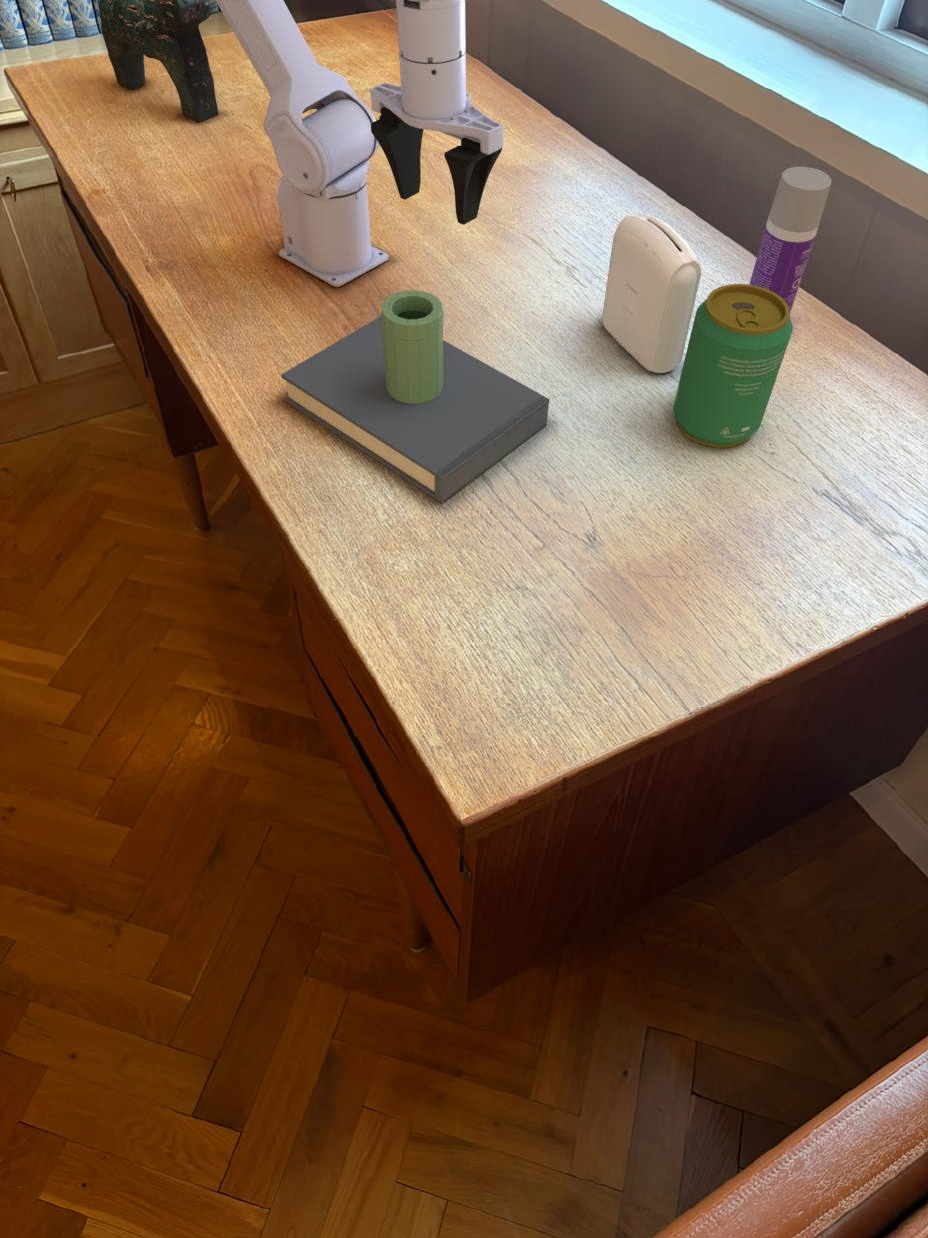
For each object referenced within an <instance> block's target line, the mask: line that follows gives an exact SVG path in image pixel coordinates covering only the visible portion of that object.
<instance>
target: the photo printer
mask: <svg viewBox="0 0 928 1238" xmlns="http://www.w3.org/2000/svg"><path fill="white" fill-rule="evenodd" d="M701 276H702V268H701V263H700V261H699V259H698V258H697V256H696V254H695V253H694V250H692V248H691V246H690V245H689V244H688V243H687V241H686V240H685V239H684V238H683V237H682V236H681V234H679V233H678V232H677V231H676V230H675V229H674V228H673V227H672V226H670V225H669V224H667V223H666V222H665V221H663V220H661V219H659V217H658V218H657V217H655V216H653V215H650V214H647V213H644V212H643V213H641V212H636V213H634V214H628V215H626V216H625V217H624V218H622V219H621V221H620V222H619V224H618V225H617V227H616V229H615V231H614V233H613V238H612V245H611V253H610V258H609V265H608V273H607V280H606V286H605V294H604V300H603V309H602V318H601V320H602V321H601V322H602V325H603V326H604V328H605V330H606V331H607V332H608V333H609V334H610V335H611V336H612V338H614V339H615V341H616V342H617V343H618V344H619V345H620V346H621V347H622V348H623V349H624V350H625V351H626V352H627V353H628V354H630V355H631V357H633V358H634V359H635V360H636V361H637V362H638V363H639V364H640V365H641V366H642V367H644V368H645V369H646V370H647V371H649V372H653V373H655V374H664V373H668V372H671V371H674V370H675V369H676V368H677V366H678V364H680V363H681V362H682V360H683V357H684V352H685V347H686V343H687V339H688V334H689V330H690V325H691V321H692V316H693V311H694V308H695V303H696V298H697V295H698V290H699V285H700V281H701Z"/></svg>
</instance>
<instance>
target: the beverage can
mask: <svg viewBox="0 0 928 1238" xmlns="http://www.w3.org/2000/svg"><path fill="white" fill-rule="evenodd" d="M695 311H696V312H695V315H694V319H693V323H692V328H691V330H690V336H689V340H688V343H687V344H688V345H687V348H686V351H685V356H684V360H683V364H682V370H681V372H680V373H681V374H680V376H679V380H678V385H677V389H676V393H675V398H674V402H673V407H672V409H673V410H672V411H673V415H674V417H675V420H676V424H677V427H678V428H679V430H680V431H681V432H682V433H683V434H684V435H685V436H686V437H687V438H688V439H690V440H692V441H694V442H696V443H698V444H700V445H703V446H707V447H711V448H720V449H721V448H732V447H736V446H740V445H742V444H744V443H745V442H747V441H748V440H749V439H750V438H751V436H753V435H754V434H756V433H757V432H758V431H759V429H760V427H761V425H762V422H763V419H764V416H765V413H766V410H767V408H768V405H769V401H770V398H771V395H772V393H773V390H774V387H775V383H776V381H777V377H778V375H779V372H780V369H781V366H782V363H783V360H784V357H785V354H786V352H787V348H788V346H789V342H790V339H791V337H792V333H793V330H794V329H793V327H794V325H793V322H792V318H791V312H790V309H789V306H788V304H787V303H786V302H785V301H784V299H782V298H781V297H780V296H779V295H777V294H776V293H774V292H772V291H770V290H768V289H765V288H762V287H759V286H754V285H749V283H748V284H747V283H732V284H725V285H721V286H719V287H717V288H714V290H712V291H710V292H709V294H708V295H707V298H706V299H705V300H704V301H703V302H702V303H700V305H699V306H698V307H697V309H696V310H695Z"/></svg>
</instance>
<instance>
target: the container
mask: <svg viewBox="0 0 928 1238" xmlns="http://www.w3.org/2000/svg"><path fill="white" fill-rule="evenodd" d="M831 186H832V178H831V177H830V176H829V174H827V173H826V172H824V171H823V170H820V169H818V168H813V167H809V166H793V167H788V168H786V169H784V170H783V171H782V173H781V176H780V179H779V183H778V185H777V189H776V192H775V195H774V198H773V202H772V205H771V207H770V211H769V214H768V217H767V221H766V223H765V228H764V231H763V235H762V238H761V242H760V246H759V249H758V252H757V256H756V259H755V262H754V267H753V269H752V274H751V276H750V280H749V283H748V285H754V286H759V287H762V288H765V289H768V290H770V291H772V292H774V293H776V294H777V295H779V296H780V297H781V298H782V299H784V301H785V302H786V303H787V304H788V306H789V309H790V313H791V312H792V309H793V305H794V302H795V300H796V297H797V293H798V291H799V288H800V285H801V282H802V278H803V277H804V276H803V275H804V272H805V270H806V267H807V264H808V260H809V259H810V258H809V257H810V254H811V251H812V249H813V246H814V241H815V239H816V237H817V233H818V229H819V226H820V223H821V220H822V217H823V213H824V209H825V207H826V202H827V199H828V196H829V193H830V190H831Z"/></svg>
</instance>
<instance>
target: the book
mask: <svg viewBox="0 0 928 1238" xmlns="http://www.w3.org/2000/svg"><path fill="white" fill-rule="evenodd" d="M280 376H281V377H280V378H281V379H282V380H284V381H286V382H285V383H286V389H287V390H286V391H287V396H285V397H284V401H285V402H286V403H287V404H289V405H290V406H292V407H293V408H295V409H297V410H298V411H300V412H301V413H303V414H304V415H306V416H307V417H309V418H310V419H312V420H314V421H315V422H317V423H318V424H320V425H321V426H322V427H324V428H326V429H327V430H328V431H330V432H332V433H333V434H335V435H337V436H338V437H340V438H341V439H343V440H344V441H345V442H347V443H349V444H350V445H352V446H353V447H355V448H356V449H358V450H360V451H361V452H362V453H364V454H366V455H367V456H369V457H370V458H372V459H373V460H374V461H375V462H377V463H379V464H380V465H382V466H383V467H385V468H387V469H388V470H390V471H392V472H393V473H395V474H396V475H398V476H399V477H400V478H402V479H404V480H405V481H407V482H408V483H410V484H411V485H413V486H414V487H416V488H417V489H419V490H420V491H422V492H424V493H425V494H426V495H429V496H430V497H431V498H433V499H435V500H436V501H437V502H439V503H440V504H442V505H444V504H445V503H447V502H448V501H449V500H451V499H452V498H454V496H455V495H457V494H459V493H460V492H461V491H463V490H464V489H465V488H466V487H468V486H469V485H470V484H472V483H473V482H474V481H476V480H477V479H478V478H480V477H481V476H482V475H483V474H485V473H486V472H487V471H489V470H490V469H491V468H493V467H494V466H496V464H498V463H500V461H502V460H503V459H505V458H506V457H507V456H509V455H510V454H512V452H514V451H515V450H516V449H518V448H519V447H521V446H522V445H523V444H524V443H526V442H527V441H528V440H530V439H531V438H533V436H535V435H536V434H538V433H539V432H540V431H542V430H543V429H544V428H546V427H547V426H548V415H549V414H548V413H549V406H550V400H551V399H550V398H548V397H546V396H545V395H543V394H541V393H539V392H537V391H536V390H534V389H533V388H530V387H528V386H527V385H525V384H523V383H521V382H519V381H518V380H516V379H514V378H513V377H511V376H509V375H507V374H505V373H503V372H501V371H500V370H498V369H496V368H495V367H493V366H492V365H491V366H490V365H489V364H487V363H485V362H483V361H482V360H480V359H478V358H476V357H475V356H472V354H469V353H468V352H466V351H464V350H462V349H460V348H459V347H456V346H455V345H453V344H451V343H449V341H448V342H447V341H446V340H444V339H443V388H442V391H441V393H440V394H439V395H438V396H437V397H436V398H434V399H433V400H431V401H428V402H425V403H419V404H409V403H403V402H400V401H398V400H396V399H394V398H393V397H391V396H390V395H389V393H388V392H387V389H386V381H385V364H384V346H383V329H382V315H380V316H378V317H377V318H375V319H373V320H371V321H369V322H368V323H366V324H365V325H363V326H361V327H359V328H358V329H356V330H354V331H353V332H351V333H349V334H347V335H346V336H344V337H342V338H341V339H339V340H337V341H335V342H334V343H332V344H331V345H329V346H327V347H326V348H324V349H322V350H321V351H318V352H317V353H315V354H314V355H312V356H310V357H308V358H307V359H305V360H304V361H303V360H302V362H300V363H298V364H297V365H295V366H293V367H291V368H290V369H288V370H286V371H284V372H283V373H281V375H280Z"/></svg>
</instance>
